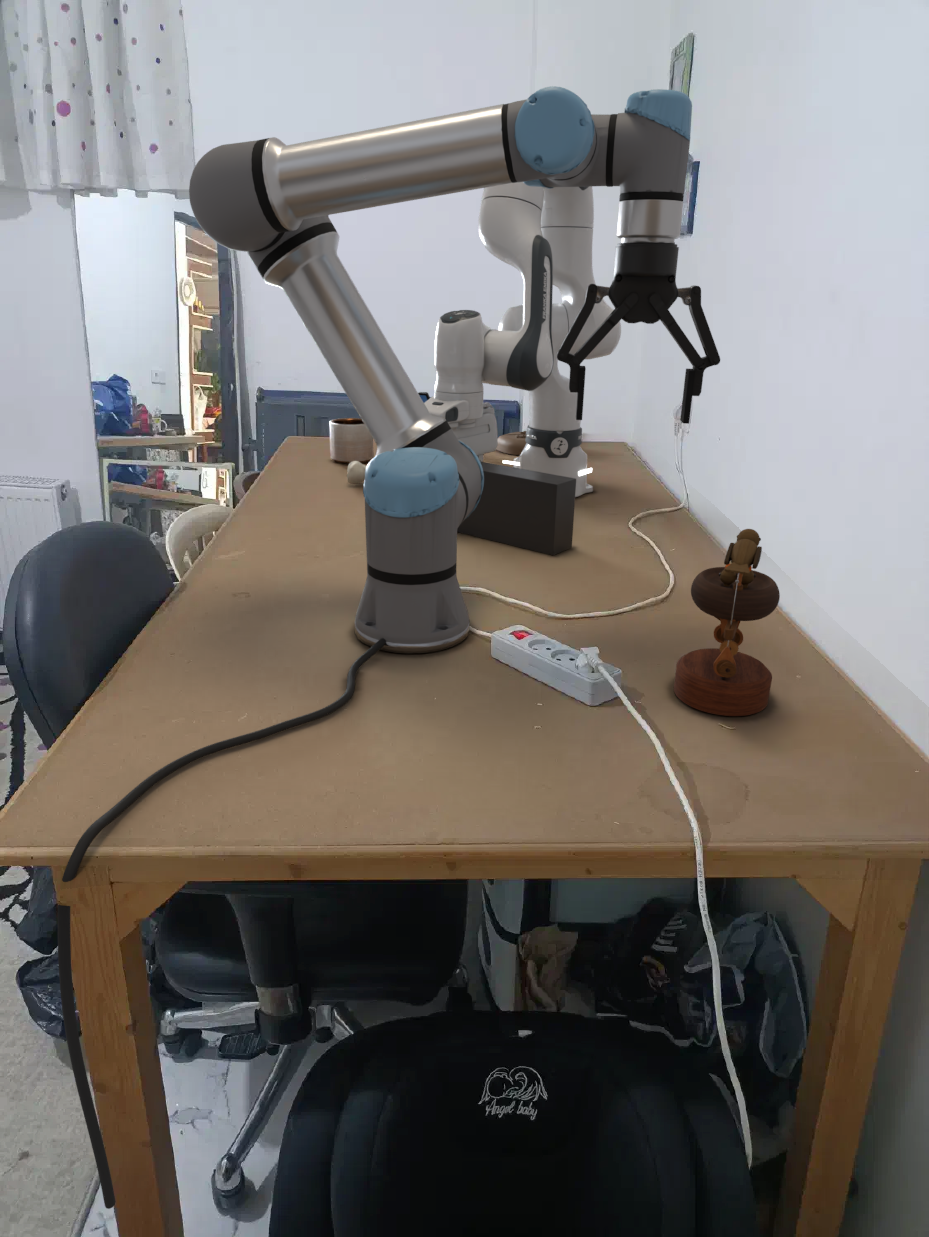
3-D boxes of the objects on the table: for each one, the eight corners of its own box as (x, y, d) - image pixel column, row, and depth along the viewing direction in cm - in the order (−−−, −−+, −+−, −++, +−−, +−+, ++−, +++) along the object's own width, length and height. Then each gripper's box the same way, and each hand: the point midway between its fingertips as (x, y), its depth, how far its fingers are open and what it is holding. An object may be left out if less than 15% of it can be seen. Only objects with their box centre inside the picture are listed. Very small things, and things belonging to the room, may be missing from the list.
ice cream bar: (502, 465, 211) (502, 448, 209) (493, 443, 237) (494, 428, 235) (586, 465, 212) (587, 448, 210) (568, 444, 238) (569, 429, 236)
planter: (327, 456, 217) (325, 418, 214) (369, 454, 220) (368, 417, 217) (334, 465, 208) (332, 425, 204) (377, 463, 211) (376, 424, 207)
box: (571, 547, 149) (576, 478, 144) (553, 555, 145) (557, 484, 140) (451, 519, 165) (452, 456, 160) (431, 525, 160) (431, 461, 156)
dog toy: (434, 479, 195) (434, 457, 194) (437, 485, 190) (437, 463, 188) (346, 480, 192) (345, 459, 190) (347, 487, 187) (346, 464, 185)
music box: (786, 726, 90) (801, 547, 83) (681, 727, 92) (686, 551, 84) (757, 665, 104) (767, 507, 97) (666, 666, 106) (669, 511, 98)
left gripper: (746, 244, 104) (724, 418, 112) (544, 241, 106) (536, 412, 115) (760, 242, 97) (735, 428, 105) (543, 239, 100) (534, 421, 108)
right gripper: (480, 399, 161) (478, 471, 166) (407, 411, 146) (408, 489, 152) (506, 402, 157) (504, 476, 163) (435, 415, 143) (435, 495, 148)
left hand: (631, 420), depth 110 cm, fingers open, 13 cm apart
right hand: (457, 482), depth 157 cm, fingers open, 8 cm apart
